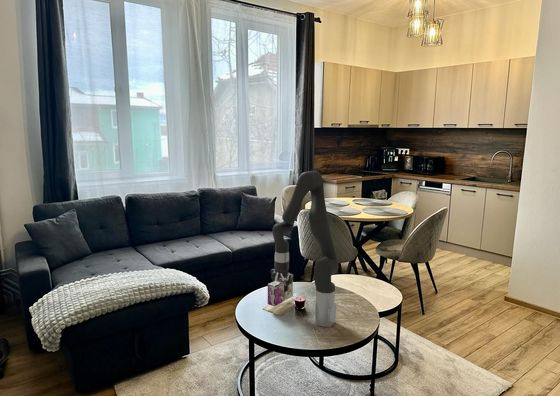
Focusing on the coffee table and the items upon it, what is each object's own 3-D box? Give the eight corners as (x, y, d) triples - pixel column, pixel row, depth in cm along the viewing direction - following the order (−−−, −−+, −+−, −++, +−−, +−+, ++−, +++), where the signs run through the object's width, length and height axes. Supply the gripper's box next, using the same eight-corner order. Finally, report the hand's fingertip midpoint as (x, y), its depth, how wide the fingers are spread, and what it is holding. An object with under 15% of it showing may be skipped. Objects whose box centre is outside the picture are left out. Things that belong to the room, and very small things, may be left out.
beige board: (301, 302, 209) (301, 301, 209) (281, 315, 194) (281, 314, 194) (283, 296, 216) (283, 295, 216) (262, 309, 201) (262, 308, 201)
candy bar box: (275, 286, 193) (293, 276, 206) (267, 284, 196) (285, 274, 209) (275, 307, 195) (293, 296, 208) (267, 304, 197) (285, 294, 210)
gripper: (297, 260, 198) (296, 291, 201) (275, 254, 206) (275, 284, 209) (288, 264, 192) (288, 296, 195) (266, 258, 200) (266, 289, 203)
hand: (281, 289), depth 202 cm, fingers closed on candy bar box, 5 cm apart
